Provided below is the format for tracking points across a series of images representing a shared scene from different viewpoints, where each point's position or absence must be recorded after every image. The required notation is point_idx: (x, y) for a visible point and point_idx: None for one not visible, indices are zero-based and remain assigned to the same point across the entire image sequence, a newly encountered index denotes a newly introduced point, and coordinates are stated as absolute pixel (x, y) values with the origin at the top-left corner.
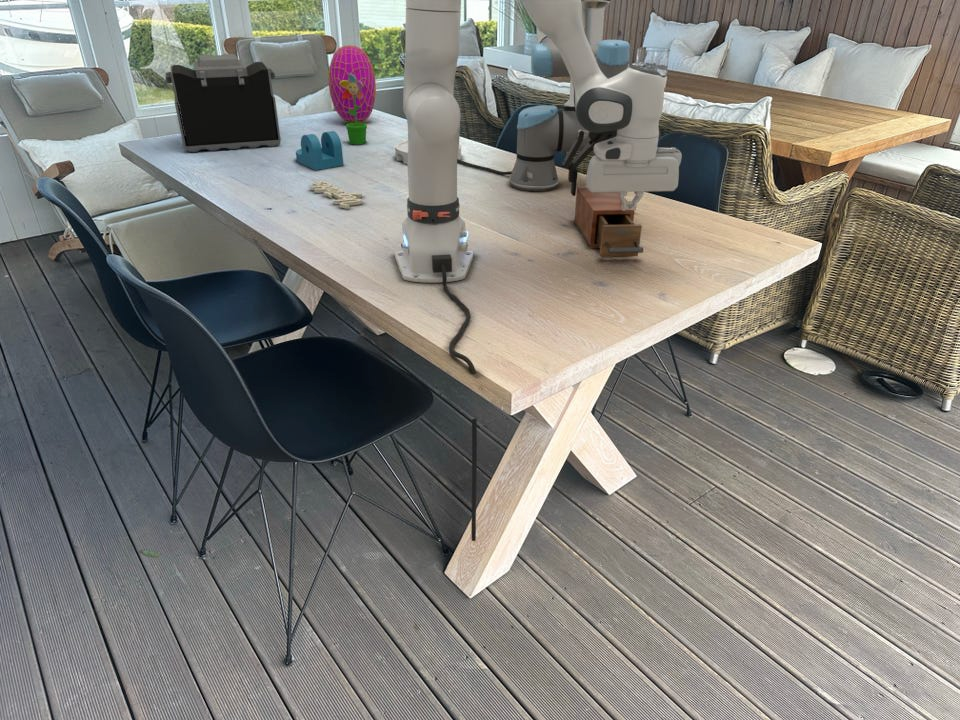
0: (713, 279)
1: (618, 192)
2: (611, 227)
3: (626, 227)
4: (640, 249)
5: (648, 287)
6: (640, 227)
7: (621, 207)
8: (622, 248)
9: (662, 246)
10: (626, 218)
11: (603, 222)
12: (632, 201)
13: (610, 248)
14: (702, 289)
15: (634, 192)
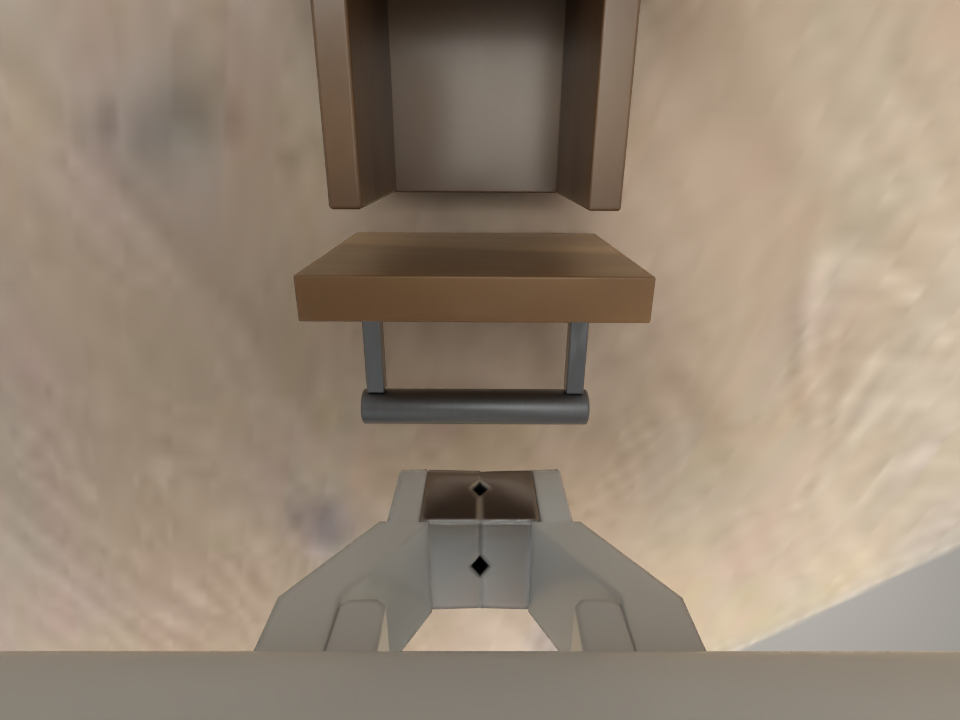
0: (861, 507)
1: (270, 635)
2: (371, 319)
3: (507, 320)
4: (566, 423)
5: None
6: (634, 319)
7: (399, 477)
8: (449, 419)
9: (865, 8)
10: (600, 18)
11: (324, 148)
12: (531, 550)
13: (368, 418)
14: (750, 590)
15: (574, 632)
